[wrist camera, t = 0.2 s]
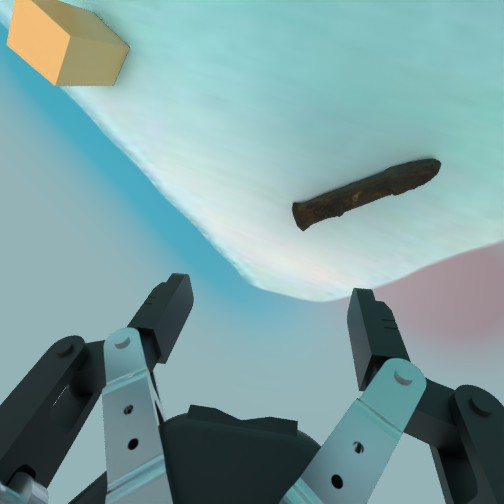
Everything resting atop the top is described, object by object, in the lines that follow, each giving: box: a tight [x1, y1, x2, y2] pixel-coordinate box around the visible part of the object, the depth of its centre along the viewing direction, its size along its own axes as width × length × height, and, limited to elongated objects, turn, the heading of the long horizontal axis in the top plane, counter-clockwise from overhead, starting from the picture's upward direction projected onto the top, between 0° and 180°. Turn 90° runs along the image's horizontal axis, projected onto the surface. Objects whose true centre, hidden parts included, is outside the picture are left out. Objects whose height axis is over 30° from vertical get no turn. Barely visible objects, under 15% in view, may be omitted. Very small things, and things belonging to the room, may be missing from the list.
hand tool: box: [292, 159, 441, 231], centre depth 36 cm, size 19×4×5 cm, turn 116°
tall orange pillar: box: [7, 0, 130, 86], centre depth 31 cm, size 5×5×10 cm
